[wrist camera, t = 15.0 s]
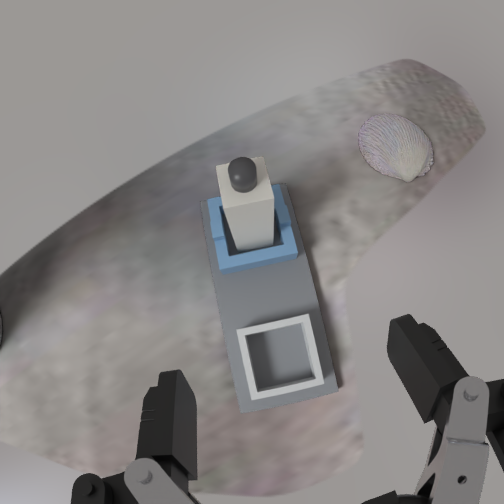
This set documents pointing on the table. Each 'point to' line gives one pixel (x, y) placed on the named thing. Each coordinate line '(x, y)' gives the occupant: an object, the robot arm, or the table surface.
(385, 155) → the seashell
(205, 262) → the table surface
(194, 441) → the robot arm
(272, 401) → the socket
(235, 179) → the white knobbed square peg
